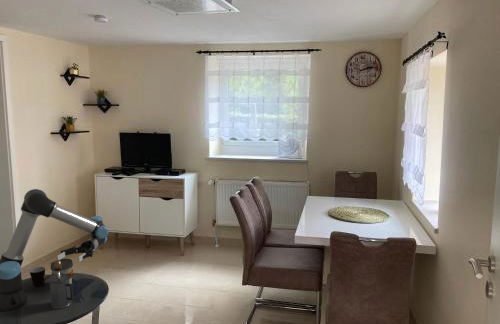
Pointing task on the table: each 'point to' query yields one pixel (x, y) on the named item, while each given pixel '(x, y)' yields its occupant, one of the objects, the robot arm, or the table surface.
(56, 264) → the plunger
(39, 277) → the coffee mug
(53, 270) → the reusable coffee cup
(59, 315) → the table surface
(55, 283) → the press carafe
